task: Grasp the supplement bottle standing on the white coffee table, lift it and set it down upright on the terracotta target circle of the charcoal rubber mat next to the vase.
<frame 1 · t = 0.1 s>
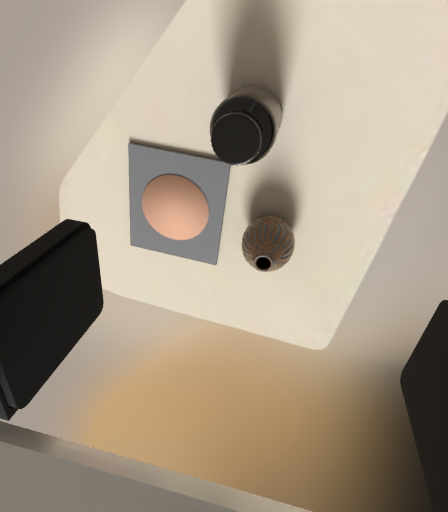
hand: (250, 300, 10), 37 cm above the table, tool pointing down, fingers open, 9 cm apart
vase: (270, 230, 49), on the table
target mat: (176, 207, 50), on the table
supplement bottle: (254, 116, 42), on the table
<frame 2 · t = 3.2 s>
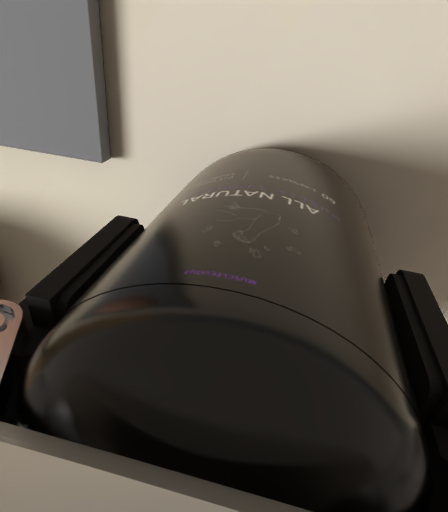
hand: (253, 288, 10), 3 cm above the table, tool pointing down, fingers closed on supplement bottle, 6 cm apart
supplement bottle: (265, 235, 13), on the table, touching gripper
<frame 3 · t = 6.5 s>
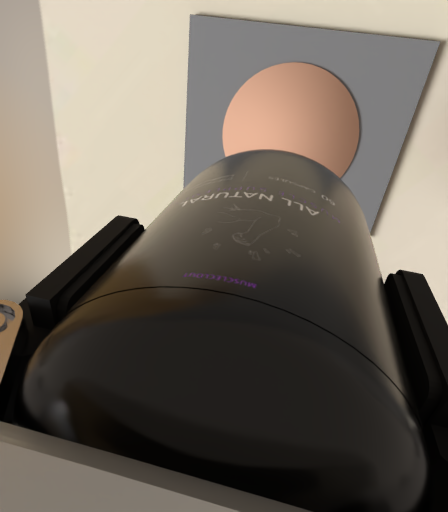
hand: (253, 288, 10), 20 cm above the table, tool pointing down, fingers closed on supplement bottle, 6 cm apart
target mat: (288, 136, 27), on the table
supplement bottle: (265, 236, 13), point 16 cm above the table, touching gripper
when the fingers open (5 cm above the table, at t = 10.2 s): supplement bottle drops 1 cm, resting on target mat.
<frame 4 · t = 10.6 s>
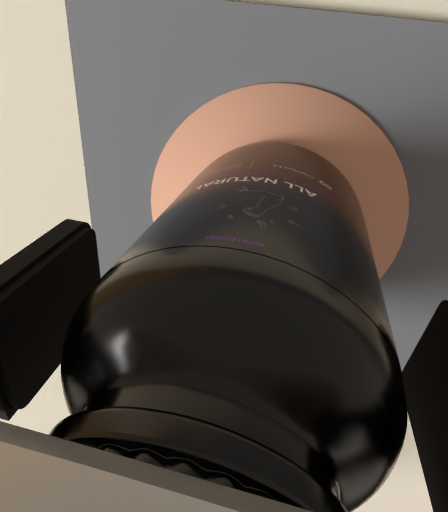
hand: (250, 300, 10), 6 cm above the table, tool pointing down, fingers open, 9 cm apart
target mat: (271, 215, 14), on the table
supplement bottle: (269, 223, 14), point 1 cm above the table, touching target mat
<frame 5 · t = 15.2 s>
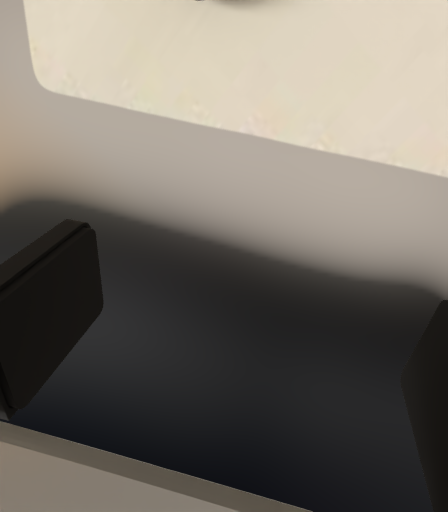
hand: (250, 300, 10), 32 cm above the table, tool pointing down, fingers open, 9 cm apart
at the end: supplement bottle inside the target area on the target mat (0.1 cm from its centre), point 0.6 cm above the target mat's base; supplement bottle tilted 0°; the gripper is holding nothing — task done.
